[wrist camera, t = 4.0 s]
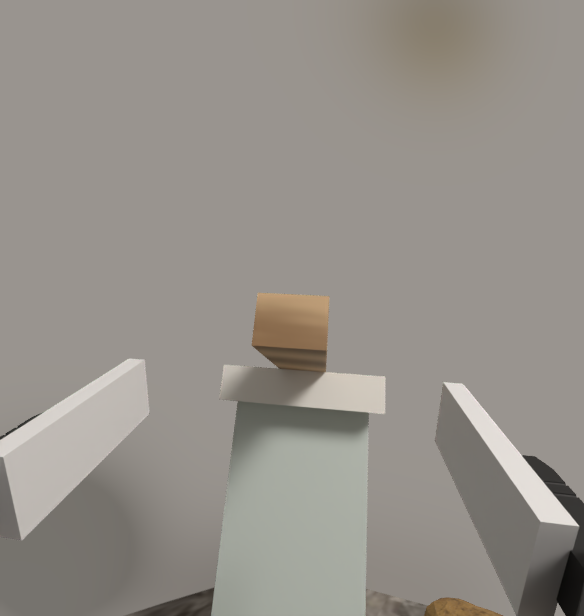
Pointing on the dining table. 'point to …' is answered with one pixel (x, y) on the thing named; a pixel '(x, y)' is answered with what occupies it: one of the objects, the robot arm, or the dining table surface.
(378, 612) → the dining table surface
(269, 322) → the oak slat
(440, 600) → the potato
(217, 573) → the box
